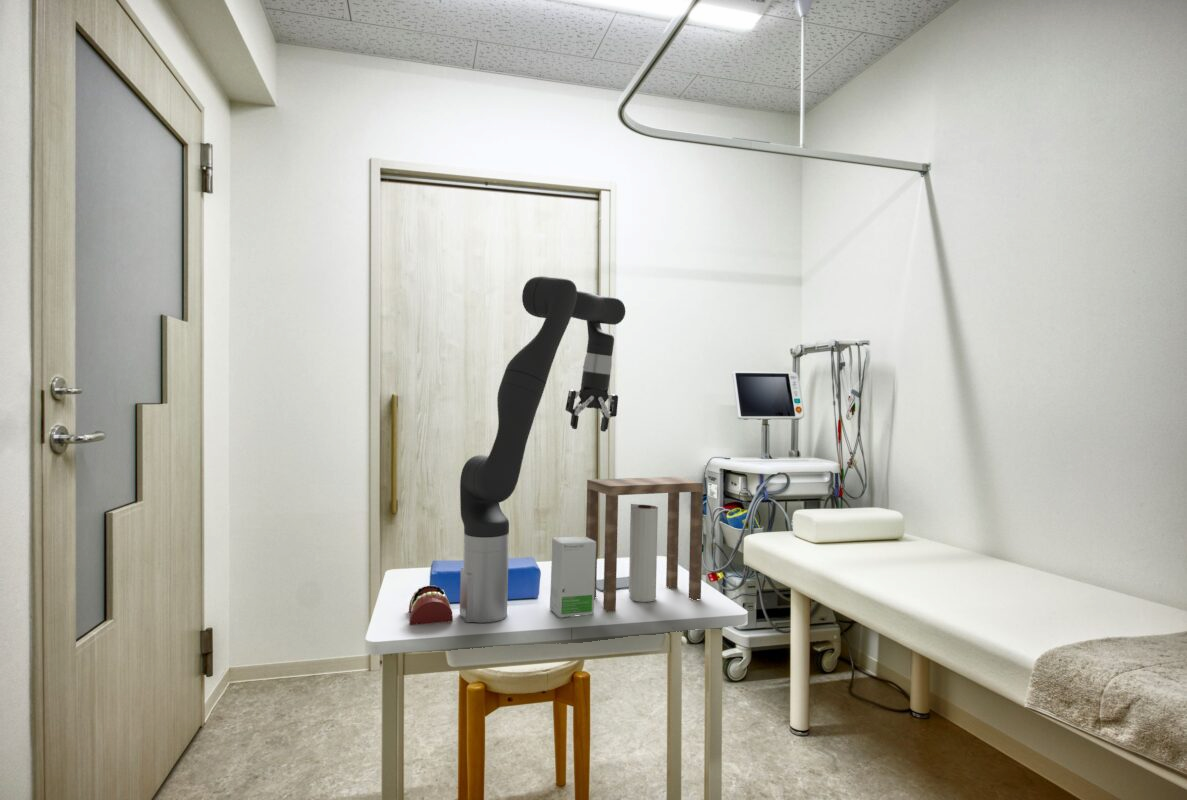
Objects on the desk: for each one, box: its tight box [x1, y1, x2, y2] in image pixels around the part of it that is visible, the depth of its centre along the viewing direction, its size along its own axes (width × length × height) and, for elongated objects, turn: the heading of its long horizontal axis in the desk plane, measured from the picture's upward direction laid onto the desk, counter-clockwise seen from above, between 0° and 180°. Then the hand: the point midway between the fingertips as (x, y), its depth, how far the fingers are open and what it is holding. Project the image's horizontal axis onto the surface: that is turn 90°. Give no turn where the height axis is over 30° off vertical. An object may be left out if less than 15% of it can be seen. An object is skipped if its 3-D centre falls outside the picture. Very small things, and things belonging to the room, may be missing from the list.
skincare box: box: [549, 536, 596, 618], centre depth 136 cm, size 8×7×16 cm
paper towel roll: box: [628, 503, 659, 603], centre depth 146 cm, size 7×6×21 cm
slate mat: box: [596, 576, 629, 592], centre depth 157 cm, size 14×8×1 cm, turn 115°
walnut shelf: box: [585, 476, 704, 613], centre depth 146 cm, size 24×12×27 cm, turn 115°
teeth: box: [408, 585, 454, 626], centre depth 131 cm, size 8×6×12 cm
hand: (588, 430), depth 173 cm, fingers open, 8 cm apart
